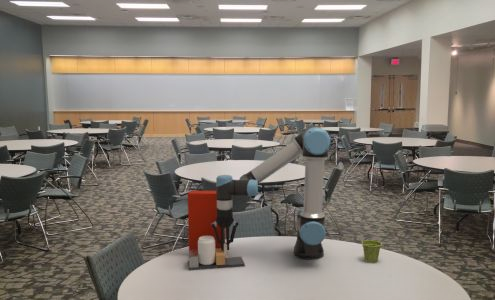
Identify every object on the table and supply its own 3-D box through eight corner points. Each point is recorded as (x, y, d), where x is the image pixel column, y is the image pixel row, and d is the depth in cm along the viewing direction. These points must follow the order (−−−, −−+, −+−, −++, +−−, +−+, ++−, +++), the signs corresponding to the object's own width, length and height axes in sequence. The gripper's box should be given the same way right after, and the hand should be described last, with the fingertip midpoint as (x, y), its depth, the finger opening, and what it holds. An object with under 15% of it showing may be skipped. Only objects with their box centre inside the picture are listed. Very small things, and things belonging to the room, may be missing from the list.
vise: (241, 259, 228) (241, 246, 227) (244, 266, 218) (244, 253, 217) (187, 262, 224) (187, 250, 223) (188, 270, 214) (188, 257, 213)
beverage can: (202, 266, 214) (201, 241, 213) (195, 261, 221) (195, 237, 220) (218, 263, 218) (217, 238, 217) (211, 258, 225) (210, 234, 224)
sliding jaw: (222, 257, 226) (222, 248, 226) (225, 264, 216) (225, 255, 216) (214, 257, 225) (214, 248, 225) (216, 265, 216) (216, 255, 215)
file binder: (192, 251, 240) (190, 190, 236) (225, 252, 238) (224, 190, 235) (189, 256, 232) (187, 193, 228) (223, 257, 230) (222, 193, 227)
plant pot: (380, 265, 219) (381, 247, 218) (360, 262, 221) (360, 245, 220) (381, 258, 227) (382, 241, 226) (362, 256, 230) (362, 239, 229)
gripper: (237, 205, 223) (237, 253, 226) (210, 207, 221) (210, 255, 224) (239, 209, 216) (240, 258, 219) (211, 210, 214) (212, 260, 216)
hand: (225, 256), depth 221 cm, fingers closed
